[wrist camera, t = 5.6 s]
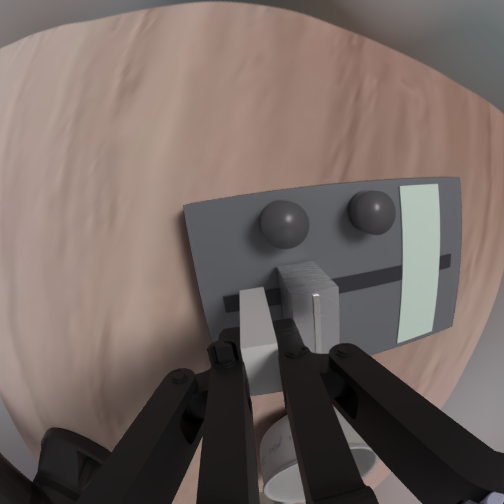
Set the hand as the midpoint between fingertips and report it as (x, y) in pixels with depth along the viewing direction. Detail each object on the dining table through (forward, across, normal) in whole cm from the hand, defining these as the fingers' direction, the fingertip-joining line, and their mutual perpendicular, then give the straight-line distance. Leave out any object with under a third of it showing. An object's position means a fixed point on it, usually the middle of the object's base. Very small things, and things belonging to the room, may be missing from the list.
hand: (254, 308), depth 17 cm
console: (+4, +8, 0) cm, 8 cm away
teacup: (+4, +2, -18) cm, 19 cm away
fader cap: (+2, +3, 0) cm, 3 cm away
